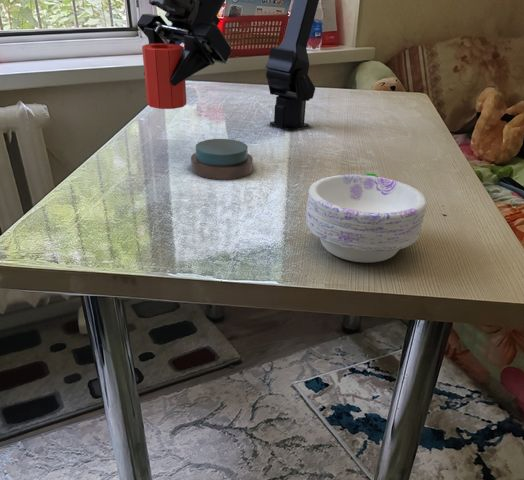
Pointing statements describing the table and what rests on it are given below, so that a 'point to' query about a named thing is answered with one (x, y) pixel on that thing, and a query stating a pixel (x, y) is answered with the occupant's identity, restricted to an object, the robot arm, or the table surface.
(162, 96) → the red cylinder
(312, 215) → the paper bowls
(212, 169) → the stack base
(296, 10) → the robot arm
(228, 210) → the table surface
